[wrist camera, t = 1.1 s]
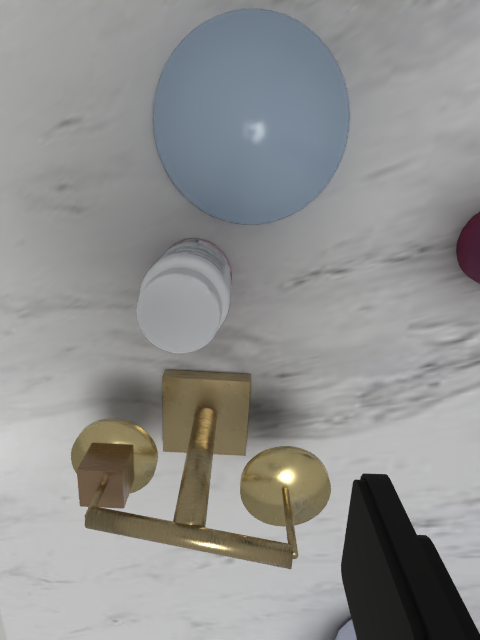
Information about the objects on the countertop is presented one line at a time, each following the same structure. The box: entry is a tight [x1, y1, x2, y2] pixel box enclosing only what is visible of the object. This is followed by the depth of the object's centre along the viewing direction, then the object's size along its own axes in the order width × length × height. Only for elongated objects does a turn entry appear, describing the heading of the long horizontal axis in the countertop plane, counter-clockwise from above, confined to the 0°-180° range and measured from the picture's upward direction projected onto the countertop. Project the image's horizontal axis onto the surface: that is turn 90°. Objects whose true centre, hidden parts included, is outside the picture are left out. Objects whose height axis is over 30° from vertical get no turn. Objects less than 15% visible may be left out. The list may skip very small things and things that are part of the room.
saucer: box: [153, 9, 350, 224], centre depth 24 cm, size 11×11×1 cm
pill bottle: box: [136, 239, 232, 353], centre depth 24 cm, size 5×5×8 cm
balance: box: [71, 370, 331, 569], centre depth 25 cm, size 6×15×13 cm, turn 87°
